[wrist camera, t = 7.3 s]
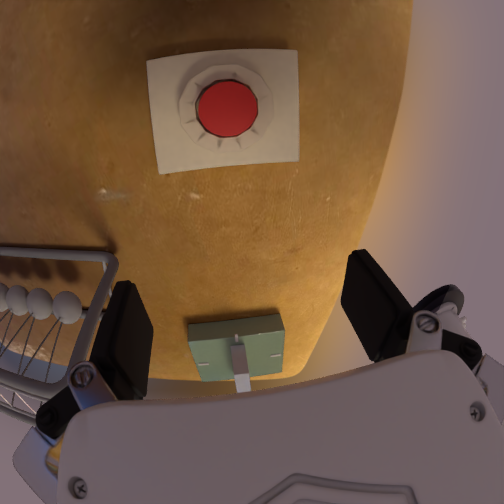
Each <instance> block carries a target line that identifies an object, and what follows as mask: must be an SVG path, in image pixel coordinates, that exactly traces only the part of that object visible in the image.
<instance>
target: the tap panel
mask: <svg viewBox="0 0 504 504" xmlns="http://www.w3.org/2000/svg"><path fill="white" fill-rule="evenodd" d="M284 337H285V329H284V325H283V322H282V319H281V315H280V314H274V315H267V316H259V317H252V318H244V319H236V320H227V321H218V322H208V323H198V324H189V325H188V344H189V347H190V349H191V352H192V355H193V358H194V361H195V364H196V366H197V369H198V372H199V374H200V377H201V380H202V382H207V381H219V380H229V379H234V373H233V364H232V356H231V347H230V346H233V345H242V344H245V349H246V356H247V362H248V368H249V374H250V377H253V376H260V375H267V374H274V373H280V372H282V364H283V351H284Z"/></svg>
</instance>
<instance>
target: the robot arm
mask: <svg viewBox="0 0 504 504" xmlns="http://www.w3.org/2000/svg"><path fill="white" fill-rule="evenodd" d="M341 305H342V308H343V309H344V311H345V313H346V315H347V317H348V318H349V320H350V322H351V324H352V326H353V328H354V330H355V332H356V334H357V335H358V338H359V339H360V341H361V343H362V345H363V347H364V349H365V351H366V353H367V355H368V357H369V359H370V360H371V361H374V363H373V364H370V365H367V366H363V367H360V368H356V369H353V370H349V371H346V372H342V373H339V374H334V375H330V376H326V377H322V378H318V379H314V380H309V381H305V382H300V383H295V384H290V385H285V386H280V387H274V388H268V389H262V390H256V391H249V392H242V393H234V394H226V395H216V396H206V397H193V398H178V399H177V398H176V399H155V400H143V397H145V396H146V394H147V382H148V373H149V364H150V356H151V348H152V340H153V326H152V324H151V321H150V319H149V317H148V314H147V312H146V310H145V307H144V305H143V303H142V300H141V298H140V295H139V293H138V290H137V288H136V285H135V284H134V283H131V282H130V281H129V280H127V281H118V282H117V283H116V285H115V287H114V290H113V293H112V295H111V298H110V301H109V304H108V307H107V310H106V313H104V314H103V316H102V319H101V322H100V325H99V328H98V332H97V335H96V338H95V341H94V345H93V348H92V351H91V355H90V359H89V361H80V362H78V363H76V364H75V365H74V366H72V367H71V369H70V370H69V372H68V375H67V382H68V386H66V387H65V388H64V389H62V390H61V391H60V392H59V393H57V394H56V395H55V396H53V397H52V398H51V399H50V400H48V401H47V402H46V403H45V404H43V405H42V406H41V407H40V408H39V409H38V411H37V413H36V417H35V421H36V427H35V428H34V427H33V426H32V427H31V428H30V430H29V431H28V433H27V434H26V436H25V437H24V439H23V440H22V442H21V443H20V445H19V446H18V448H17V449H16V451H15V452H14V455H13V465H14V467H15V469H16V471H17V472H18V473H19V474H20V476H21V477H22V478H23V479H24V481H25V482H26V483H27V484H28V485H29V487H30V488H31V489H32V490H33V491H34V492H35V493H36V495H37V496H38V497H39V498H40V499H41V500H42V501H43V502H44V503H45V504H504V366H503V365H501V364H500V363H498V362H497V361H496V360H494V359H493V358H491V357H490V356H488V355H487V354H485V355H483V353H482V350H481V347H480V346H479V345H478V343H477V342H475V341H474V340H473V339H472V338H471V336H470V335H469V334H468V332H467V331H466V330H465V328H466V324H465V322H466V321H467V318H466V317H465V316H464V317H462V318H459V317H458V315H457V307H456V305H455V304H454V303H453V302H446V303H443V304H441V305H439V306H438V307H436V308H435V309H433V310H432V311H431V312H430V311H426V310H422V311H418V312H416V313H415V312H414V311H413V310H412V309H413V308H412V307H411V305H410V304H409V303H408V301H407V300H406V299H405V297H404V296H403V295H402V293H401V292H400V291H399V290H398V288H397V287H396V286H395V284H394V283H393V282H392V281H391V279H390V278H389V277H388V276H387V274H386V273H385V272H384V271H383V269H382V268H381V267H380V266H379V265H378V263H377V262H376V261H375V260H374V259H373V258H372V256H371V255H370V254H369V253H368V251H366V249H361V250H354V251H352V254H350V255H349V256H348V262H347V268H346V274H345V279H344V285H343V290H342V296H341Z"/></svg>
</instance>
